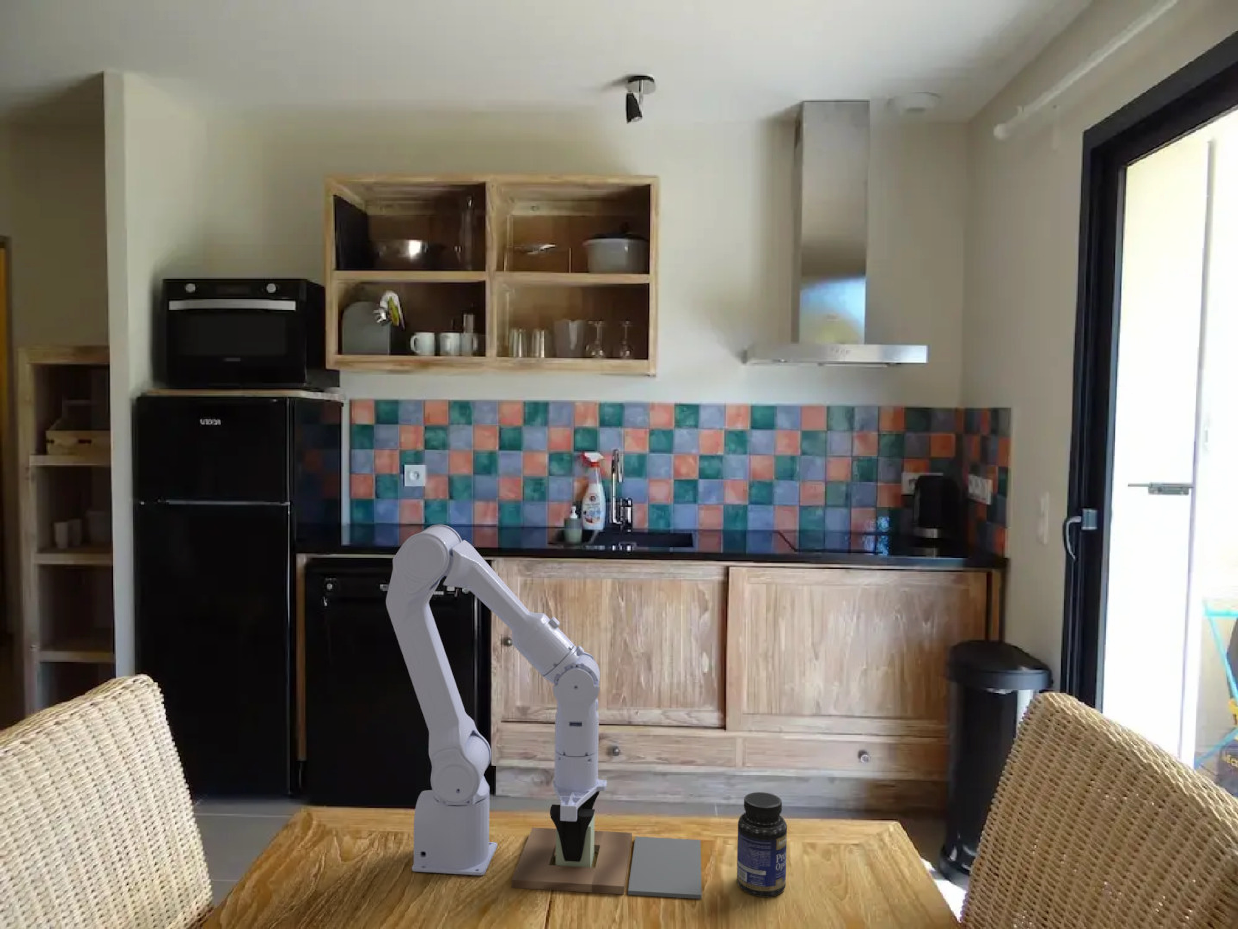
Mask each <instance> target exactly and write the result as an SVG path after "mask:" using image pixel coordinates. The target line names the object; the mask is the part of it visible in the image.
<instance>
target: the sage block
mask: <svg viewBox="0 0 1238 929" xmlns="http://www.w3.org/2000/svg"><path fill="white" fill-rule="evenodd" d="M595 813H596V812H594V816H593V818H592V820H591V822H590V824H589V826H588V828H587V831H586V836H585V843H584V849H583V853H582V857H581V860H580V862H574V861H565V860H564V857H563V853H562V848H561V842H560V838H559V834H558V831H557V828H556V827H555V829H556V852H555V866H572V867H589V868H592V866H593V861H594V857H595V852H594V831H595V822H596V821H595V817H596V816H595V815H596V814H595Z"/></svg>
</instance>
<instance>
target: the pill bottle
mask: <svg viewBox="0 0 1238 929" xmlns="http://www.w3.org/2000/svg"><path fill="white" fill-rule="evenodd" d="M743 809H744V811H745V812H744V813H742V814H741V815H740V816H739V817H738V821H737V854H736V861H737V862H736V882H737V884H738V886H739V888H741V890H742V891H744V892H746V893H747V894H750V895H752V896H755V897H761V898H763V897H765V898H767V897H769V898H770V897H775V896H779V895H780V894H781V893H783V892H784V890H785V888H786V885H787V882H786V880H787V878H786V877H787V847H788V846H787V842H788V841H787V838H788V837H787V836H788V825H787V822H786V820H785V819H784V818H783V816H781V813H782V810H783V801H782V799H781V798H780V797H779V796H777V795H775V794H774V793H769V792H763V791H761V792H759V791H756V792H754V791H753V792H750V793H748V794H746V795H745V796H744V799H743Z"/></svg>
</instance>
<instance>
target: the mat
mask: <svg viewBox="0 0 1238 929" xmlns="http://www.w3.org/2000/svg"><path fill="white" fill-rule="evenodd" d="M701 846H702V845H701V839H692V838H691V839H688V838H687V839H686V838H673V837H672V838H671V837H670V838H669V837H651V836H650V837H649V836H635V839H634V844H633V852H632V859H631V867H630V874H629V875H630V876H629V880H628V886H627V887H628V888H627V895H629V896H647V897H660V898H662V897H664V898H665V897H666V898H682V899H695V900H696V899H697V900H698V899H699V900H700V899H701V900H702V898H703V897H702V896H703V895H702V894H703V893H702V855H701V854H702V851H701V850H702V849H701V848H702V847H701Z"/></svg>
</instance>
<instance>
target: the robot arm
mask: <svg viewBox="0 0 1238 929" xmlns="http://www.w3.org/2000/svg"><path fill="white" fill-rule="evenodd" d="M444 577H446V578H445V580H444V581H443V583H442V586H448V587H455V588H460V589H461V588H462V589H463V588H464V589H467V590H469V591H470V592H471V593H472V594H473V595H475V597H476V598H478V600H480V601H481V602H482V603H483V604H484V605H485V606H486V607H487V608H488V610H490V611H491V612H492V613H493V614H494V615H495V616H496V617H497V618H499V620H500V621H502V622H503V623H504V624H505V625H506V626H507V628H509V629H510V630H511V633H512V635H511V636H512V639H511V642H512V646H513V647H515V649H516V650H517V651H518V652H519V653H520V654H521V655H522V656H523V657H524V658H525V660H526V661H527V662H528V663H529V664H530V665H531V666H532V667H533V668H534V669H535V670H536V671H537V672H538V673H539V674H540V675H541V676H542V677H543V679H545V680H547V681H549V682H550V683H552V684H553V685H552V692H553V696H554V697H555V700H556V713H555V714H554V717H555V718H554V776H553V778H554V779H553V781H552V789H553V792H554V793H555V796H556V798H557V800H558V802H559V804H554V803H552V804H551V806H550V809H549V815H550V816H549V817H550V819H551V821H552V822H553V824H554V827H555V829H556V828H557V831H558V834H559V838H560V842H561V848H562V853H563V857H564V860H565V861H574V862H580V860H581V857H582V853H583V849H584V843H585V836H586V831H587V828H588V826H589V824H590V822H591V820H592V818H593V816H594V812H595V811H596V809H595V808H594V806H595V803H596V800H597V798H598V797H599V794H600V792H605V791H606V790H607V786H608V781H607V780H604V779H599V745H600V744H599V741H600V740H599V735H600V734H599V733H600V732H599V731H600V724H599V723H600V715H599V711H598V709H599V699H598V697H599V693H600V690H601V689H600V679H601V671H600V667H599V665H598V663H597V662H596V660H595V659H594V656H593V655H592V654H590V653H588V652H585V649H584V648H583V647H582V646H581V645H578V646H577V645H575V644H574V643H573V642H572V641H571V639H570V638H569V637H568V636H566V634H565V633H564V632H563V630H561V629H560V628H559V626H560V624H561V623H560V621H559V620H558V619H557V618H556V617H555V616H552V617H550V618H549V617H548V616H547V615H546V613H544V612H533V611H530V610H529V609H528V608H527V607H526V605H524V604H523V602H522V601H521V600H520V599H519V598H518V597H517V596H516V594H515V593H514V592H513V591H512V590H511V589H510V588H509V587H508V585H507V584H506V583H505V582H504V580H502V579H501V576H499V575H498V574H497V573H496V572H495V570H494V569H493V568H492V567H491V566H490V565H489V563H488V562H487V561H486V560H485V559H484V558H483V557H482V556H481V554H480V553H479V552H478V551H477V550H476V548H474V546H473V545H472V544H471V543H469V542H468V541H466V540H465V539H464V540H462V538H461V536H460V534H459V533H458V532H457V531H456V530H455V529H454V528H452V527H450V526H448V525H445V524H433V525H431V526H429V527H426V528H425V529H424V530H423V531H421V532H418V533H415V534H413V535H411V536H409V537H408V538H407V539H406V540H405V541H404V542H403V544H402V545H401V547H400V548H399V549H398V551H397V553H396V554H395V555H394V557H393V559H392V571H391V578H390V582H389V584H388V588H387V593H386V597H385V605H386V610H387V612H388V615H389V619H390V621H391V624H392V626H393V631H394V632H395V635H396V639H397V641H398V645H399V648H400V651H401V653H402V655H403V659H404V662H405V665H406V667H407V670H408V674H409V677H410V680H411V683H412V686H413V689H414V692H415V695H416V698H417V700H418V703H419V705H420V709H421V712H422V714H423V719H424V720H425V724H426V727H427V729H428V756H429V760H430V763H431V764H430V765H431V774H430V786H431V789H429V790H422V791H421V792H420V794H419V795H418V798H417V801H416V804H415V809H414V816H413V817H414V818H413V865H412V866H411V871H412V872H420V873H435V874H436V873H437V874H450V875H452V874H454V875H466V876H467V875H470V876H484V875H485V873H486V872H487V869H488V868H489V866H490V863H491V861H492V859H493V857H494V854H495V853H496V850H497V848H498V843H497V842H494V841H490V785H489V783H488V782H487V780H486V778H485V776H484V774H485V773H486V772H485V771H486V770H487V769H488V767H489V765H490V764H491V760H492V749H491V746H490V744H489V742H488V741H487V739H486V738H485V737H484V736H483V735H482V734H481V733H480V732H479V730H478V729H477V726H476V723H475V720H474V719H472V718H471V716H469V715H468V714H467V713H466V711H465V710H466V709H465V707H464V704H463V701H462V697H461V695H460V693H459V689H458V687H457V683H456V680H455V678H454V675H453V672H452V668H451V665H450V663H449V659H448V656H447V654H446V651H445V648H444V645H443V642H442V639H441V636H440V633H439V630H438V628H437V624H436V621H435V618H434V616H433V613H432V610H431V607H430V600H431V599H432V596H433V595H434V593H435V592H436V590H437V588H438V587H439V584H440V581H441V580H442V579H444ZM595 813H596V812H595Z"/></svg>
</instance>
